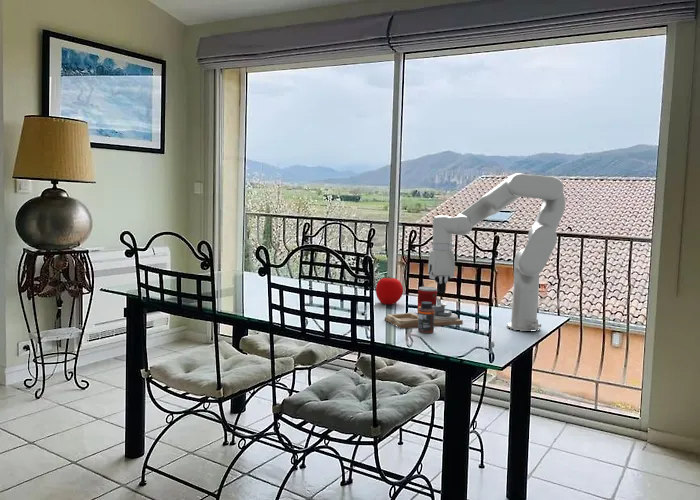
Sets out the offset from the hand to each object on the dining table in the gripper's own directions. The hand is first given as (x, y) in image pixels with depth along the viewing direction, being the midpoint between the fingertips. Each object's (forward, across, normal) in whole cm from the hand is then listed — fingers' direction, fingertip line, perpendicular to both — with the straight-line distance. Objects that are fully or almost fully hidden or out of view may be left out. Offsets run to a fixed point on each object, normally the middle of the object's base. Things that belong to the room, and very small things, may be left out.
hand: (441, 292), depth 253 cm
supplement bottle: (+12, +13, +10) cm, 20 cm away
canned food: (+12, -3, -17) cm, 22 cm away
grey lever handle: (+10, 0, -4) cm, 11 cm away
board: (+12, +6, -4) cm, 14 cm away
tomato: (+12, +4, -39) cm, 41 cm away
